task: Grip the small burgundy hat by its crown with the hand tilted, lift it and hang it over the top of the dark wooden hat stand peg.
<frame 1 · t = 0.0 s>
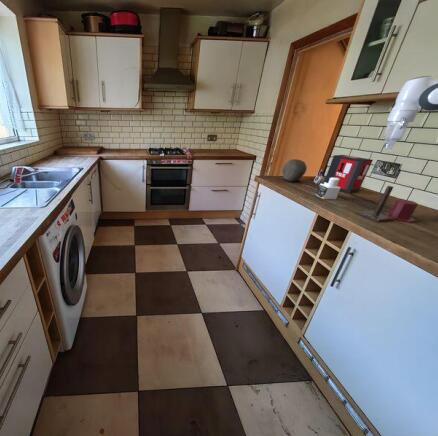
hand: (386, 148, 111), 29 cm above the table, tool pointing down, fingers open, 8 cm apart
grey stone ball: (290, 181, 162), on the table
hat: (398, 217, 108), on the table
cleaning product box: (339, 188, 148), on the table
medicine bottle: (325, 197, 132), on the table
hat stand: (374, 217, 108), on the table
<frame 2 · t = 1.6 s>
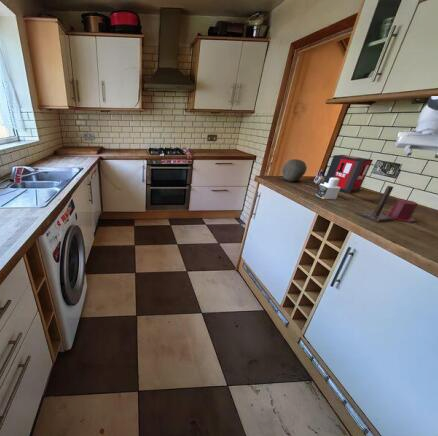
hand: (422, 155, 105), 27 cm above the table, tool tilted 45°, fingers open, 8 cm apart
nothing on the table moved.
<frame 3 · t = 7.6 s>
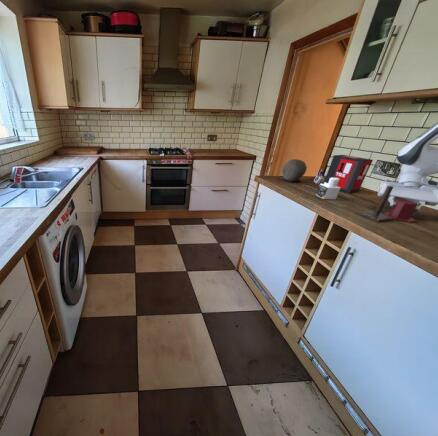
hand: (404, 208, 106), 5 cm above the table, tool tilted 45°, fingers closed on hat, 6 cm apart
hat: (398, 217, 108), on the table, touching gripper
everything else where it was.
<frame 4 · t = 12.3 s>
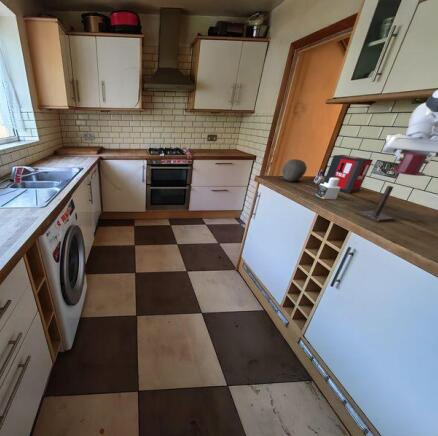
hand: (412, 161, 96), 26 cm above the table, tool tilted 45°, fingers closed on hat, 6 cm apart
hat: (406, 172, 99), point 22 cm above the table, touching gripper
everything else where it was.
when the fingers open (13 cm above the table, at t = 17.0 s): hat stays where it is, resting on hat stand.
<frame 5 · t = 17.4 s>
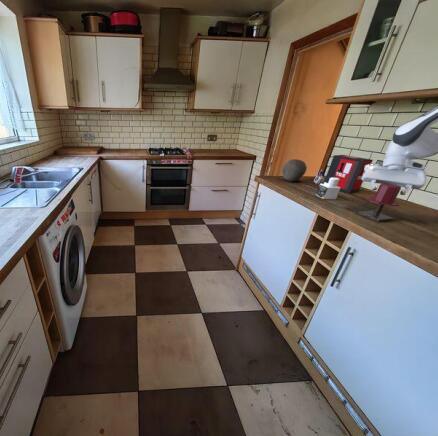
hand: (388, 191, 102), 13 cm above the table, tool tilted 45°, fingers open, 8 cm apart
hat: (382, 201, 104), point 8 cm above the table, touching hat stand
everything else where it was.
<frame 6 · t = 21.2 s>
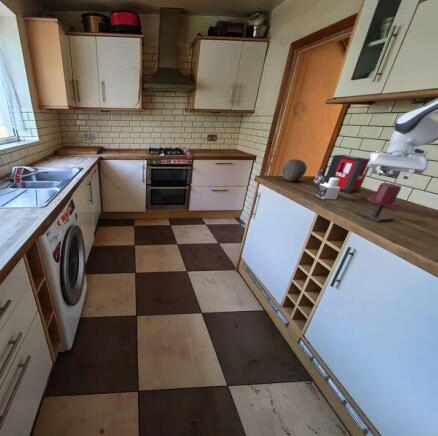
hand: (392, 176, 110), 17 cm above the table, tool tilted 45°, fingers open, 8 cm apart
nothing on the table moved.
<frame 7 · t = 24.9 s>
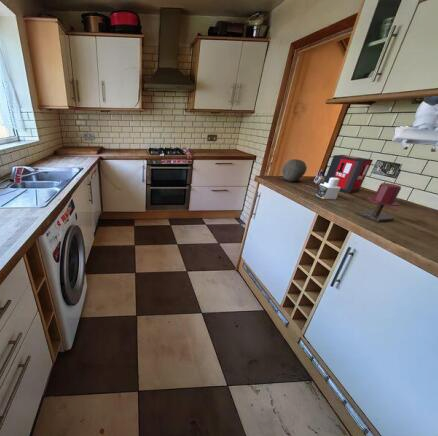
hand: (419, 149, 108), 29 cm above the table, tool tilted 45°, fingers open, 8 cm apart
nothing on the table moved.
at the end: hat 0.1 cm from the hat stand (horizontally); hat point 7.8 cm above the table; the gripper is holding nothing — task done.
